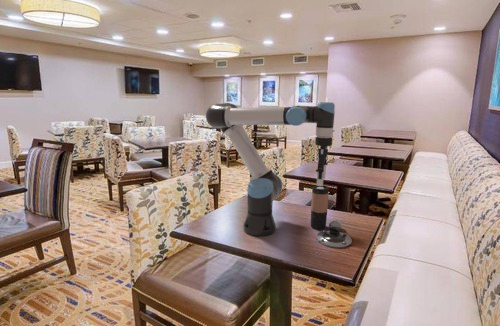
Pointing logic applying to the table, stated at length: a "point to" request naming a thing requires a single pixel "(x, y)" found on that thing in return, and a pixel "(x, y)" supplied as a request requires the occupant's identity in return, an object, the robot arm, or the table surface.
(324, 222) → the travel mug
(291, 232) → the table surface
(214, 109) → the robot arm
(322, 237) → the fitting
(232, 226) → the table surface
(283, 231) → the table surface
